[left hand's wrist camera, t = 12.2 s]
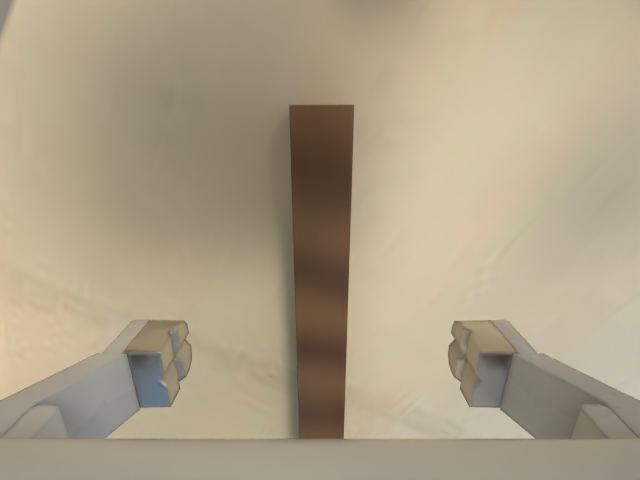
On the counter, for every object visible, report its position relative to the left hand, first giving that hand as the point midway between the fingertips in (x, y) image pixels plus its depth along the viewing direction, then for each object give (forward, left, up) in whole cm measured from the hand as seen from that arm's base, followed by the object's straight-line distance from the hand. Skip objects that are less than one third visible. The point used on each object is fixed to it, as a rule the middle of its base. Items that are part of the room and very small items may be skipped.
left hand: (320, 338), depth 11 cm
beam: (+26, -19, -24) cm, 40 cm away
